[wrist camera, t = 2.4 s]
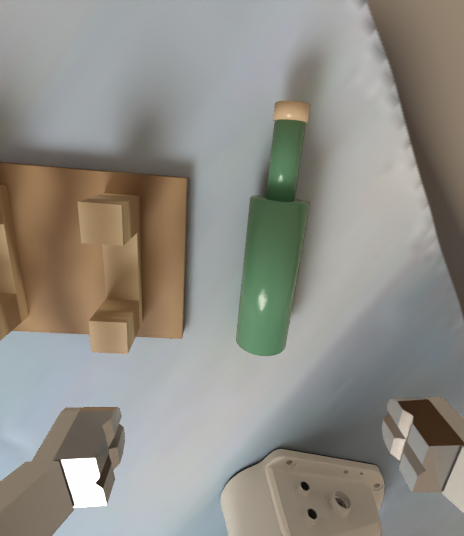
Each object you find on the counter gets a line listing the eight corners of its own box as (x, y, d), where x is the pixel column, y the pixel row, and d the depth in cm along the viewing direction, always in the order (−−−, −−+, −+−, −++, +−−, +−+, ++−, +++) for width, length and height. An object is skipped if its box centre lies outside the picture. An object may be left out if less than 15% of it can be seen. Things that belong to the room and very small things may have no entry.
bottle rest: (188, 177, 27) (179, 183, 21) (183, 332, 32) (175, 372, 26) (-75, 155, 25) (-166, 155, 19) (-33, 321, 31) (-94, 361, 25)
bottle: (268, 324, 33) (295, 349, 29) (227, 331, 31) (251, 360, 27) (298, 112, 26) (340, 106, 22) (248, 103, 24) (284, 94, 20)
